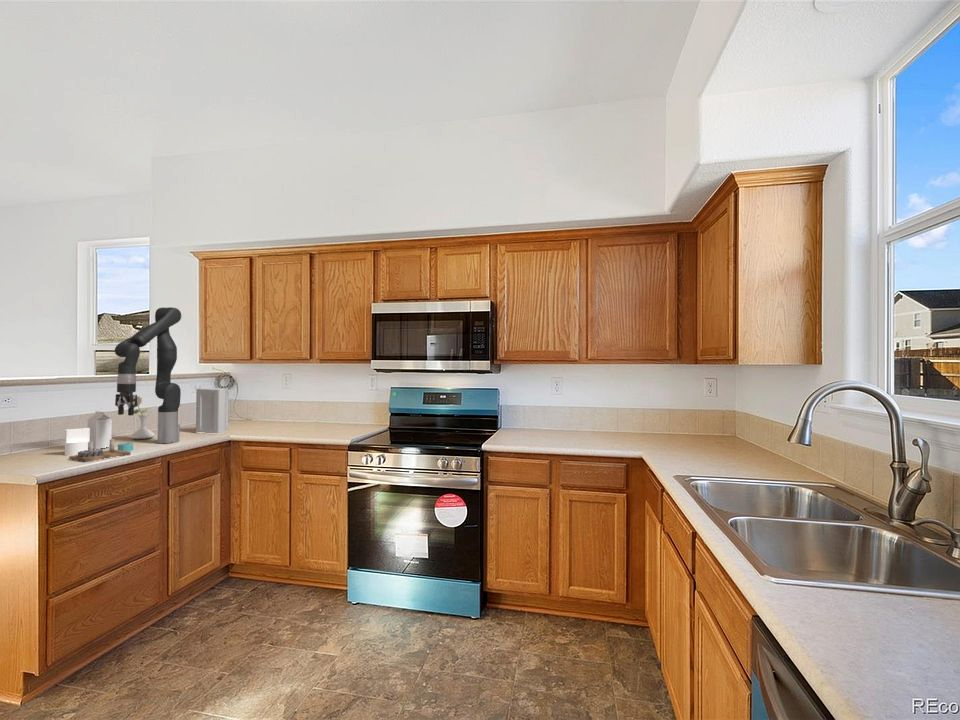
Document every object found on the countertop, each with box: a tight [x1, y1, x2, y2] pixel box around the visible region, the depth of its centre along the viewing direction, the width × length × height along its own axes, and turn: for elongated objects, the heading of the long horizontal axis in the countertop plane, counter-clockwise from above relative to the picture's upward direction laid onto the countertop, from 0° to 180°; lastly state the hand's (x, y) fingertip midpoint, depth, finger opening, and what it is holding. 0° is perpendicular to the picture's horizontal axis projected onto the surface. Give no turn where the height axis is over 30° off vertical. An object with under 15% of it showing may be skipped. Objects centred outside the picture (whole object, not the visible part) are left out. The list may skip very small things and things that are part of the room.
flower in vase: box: [130, 395, 156, 440], centre depth 262 cm, size 13×11×25 cm
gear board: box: [68, 438, 131, 463], centre depth 210 cm, size 18×13×8 cm
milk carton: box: [87, 410, 113, 450], centre depth 232 cm, size 7×7×19 cm
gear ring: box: [117, 442, 134, 452], centre depth 226 cm, size 6×6×4 cm
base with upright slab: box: [64, 427, 90, 456], centre depth 218 cm, size 9×9×12 cm
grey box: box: [195, 387, 230, 433], centre depth 289 cm, size 19×15×28 cm
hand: (125, 415), depth 226 cm, fingers open, 8 cm apart
